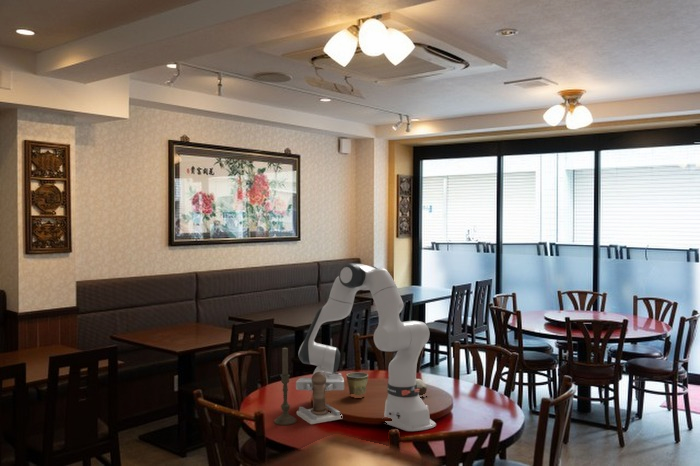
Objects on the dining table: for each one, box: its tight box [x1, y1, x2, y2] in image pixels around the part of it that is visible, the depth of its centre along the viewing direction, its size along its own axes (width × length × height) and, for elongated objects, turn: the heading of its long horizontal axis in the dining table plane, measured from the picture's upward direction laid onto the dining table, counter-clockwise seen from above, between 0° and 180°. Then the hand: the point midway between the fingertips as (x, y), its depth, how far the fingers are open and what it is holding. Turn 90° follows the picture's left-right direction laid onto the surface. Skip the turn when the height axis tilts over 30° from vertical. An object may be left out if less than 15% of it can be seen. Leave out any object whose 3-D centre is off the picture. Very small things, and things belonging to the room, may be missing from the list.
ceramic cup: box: [345, 371, 369, 395], centre depth 277 cm, size 13×10×10 cm
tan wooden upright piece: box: [311, 372, 328, 415], centre depth 247 cm, size 7×7×16 cm
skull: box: [416, 378, 428, 395], centre depth 278 cm, size 12×10×10 cm
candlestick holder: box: [273, 347, 298, 426], centre depth 241 cm, size 9×9×30 cm
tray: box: [296, 402, 343, 425], centre depth 247 cm, size 14×14×3 cm
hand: (318, 389), depth 246 cm, fingers open, 6 cm apart
